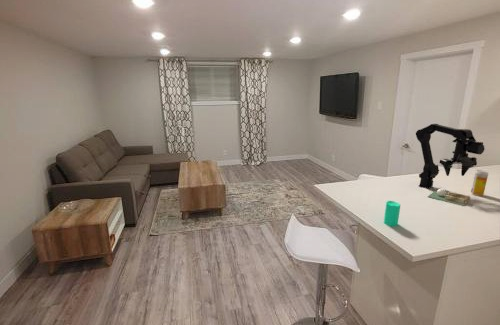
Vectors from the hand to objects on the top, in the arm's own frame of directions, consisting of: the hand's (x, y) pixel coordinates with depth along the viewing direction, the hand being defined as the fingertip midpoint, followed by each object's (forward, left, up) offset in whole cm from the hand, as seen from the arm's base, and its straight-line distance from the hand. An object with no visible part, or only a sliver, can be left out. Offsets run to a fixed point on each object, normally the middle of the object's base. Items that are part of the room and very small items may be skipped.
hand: (455, 175), depth 161 cm
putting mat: (0, -8, -13) cm, 15 cm away
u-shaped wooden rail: (+5, -8, -13) cm, 16 cm away
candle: (-10, -67, -13) cm, 69 cm away
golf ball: (-4, -8, -10) cm, 13 cm away
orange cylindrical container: (+10, +13, -13) cm, 21 cm away
